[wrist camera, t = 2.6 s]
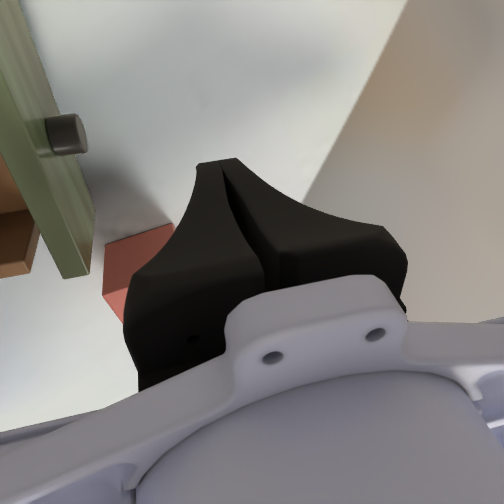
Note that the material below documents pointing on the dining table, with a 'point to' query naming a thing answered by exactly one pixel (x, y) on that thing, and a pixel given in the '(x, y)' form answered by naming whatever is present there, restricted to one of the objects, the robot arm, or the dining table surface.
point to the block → (129, 263)
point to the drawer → (38, 162)
